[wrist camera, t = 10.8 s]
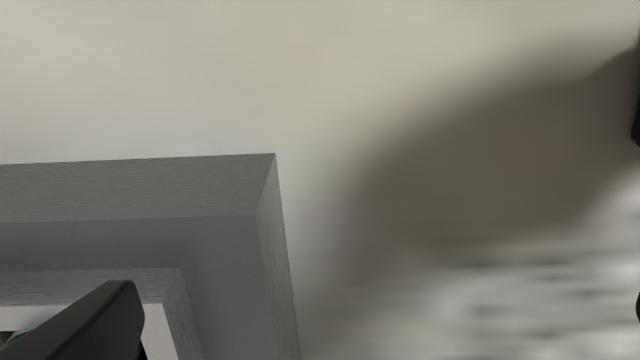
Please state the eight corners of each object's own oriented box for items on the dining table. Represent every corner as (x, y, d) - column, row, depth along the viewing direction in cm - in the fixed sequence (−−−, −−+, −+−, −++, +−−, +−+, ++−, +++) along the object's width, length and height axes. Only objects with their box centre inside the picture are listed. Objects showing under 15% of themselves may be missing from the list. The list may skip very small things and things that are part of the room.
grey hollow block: (275, 153, 21) (244, 247, 15) (300, 362, 28) (288, 492, 21) (-85, 168, 23) (-260, 261, 16) (20, 365, 29) (-74, 489, 22)
